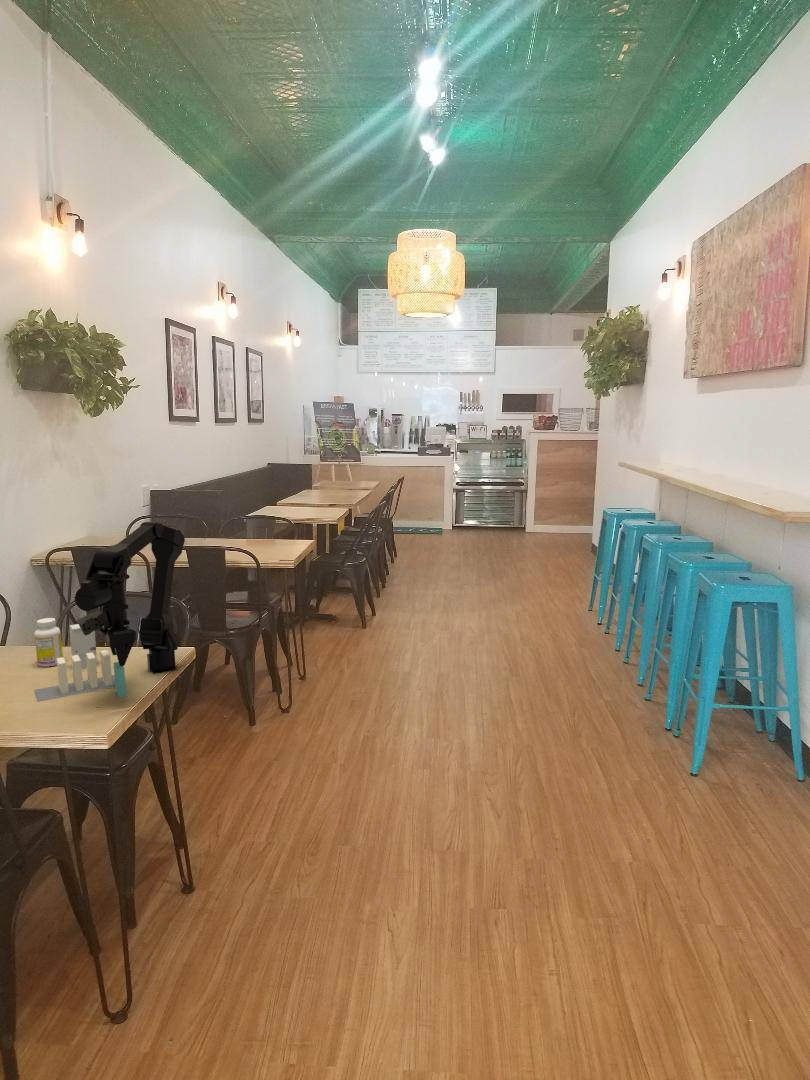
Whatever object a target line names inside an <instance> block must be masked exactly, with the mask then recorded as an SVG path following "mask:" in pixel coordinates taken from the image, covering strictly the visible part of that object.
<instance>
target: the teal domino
mask: <svg viewBox="0 0 810 1080" xmlns="http://www.w3.org/2000/svg"><path fill="white" fill-rule="evenodd" d="M113 675H114V676H115V687H114V688H115V693H116V694H117V696H118V698H124V697H127V689H126V687H127V686H126V676H125V666H120V665H119V662H118V661H116V662H113Z"/></svg>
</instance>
